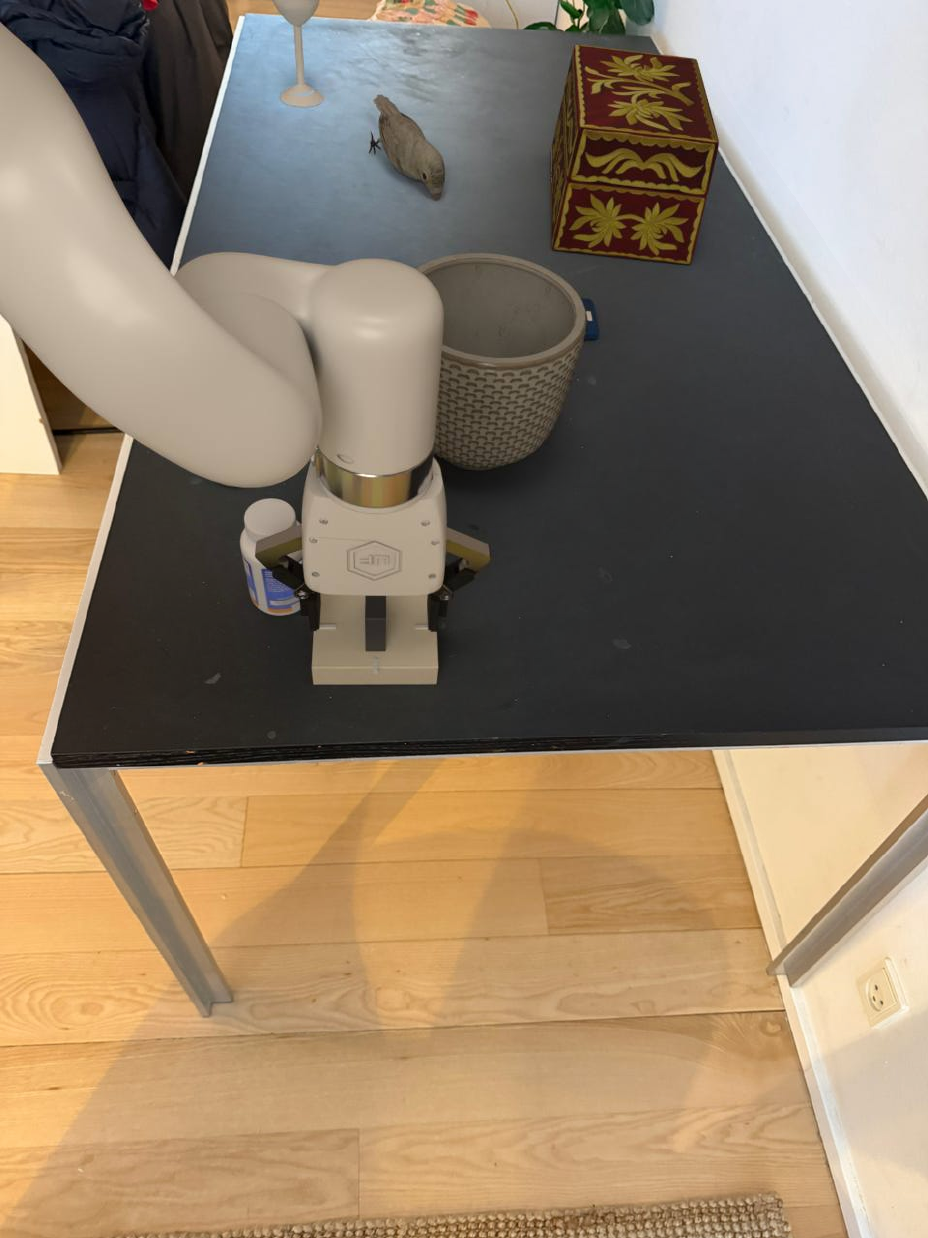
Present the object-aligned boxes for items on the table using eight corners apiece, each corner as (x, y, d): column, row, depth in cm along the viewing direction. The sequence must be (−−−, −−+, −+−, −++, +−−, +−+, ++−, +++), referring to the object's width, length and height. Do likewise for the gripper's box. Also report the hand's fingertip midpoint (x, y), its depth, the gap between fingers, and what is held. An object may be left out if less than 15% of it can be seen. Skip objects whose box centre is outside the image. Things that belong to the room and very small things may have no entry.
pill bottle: (324, 583, 76) (318, 505, 68) (292, 627, 73) (282, 550, 65) (271, 561, 77) (260, 482, 70) (237, 603, 74) (221, 525, 66)
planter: (357, 424, 89) (355, 283, 76) (488, 370, 96) (505, 233, 84) (458, 527, 82) (474, 390, 69) (592, 460, 89) (628, 324, 76)
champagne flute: (332, 99, 134) (326, -96, 115) (300, 110, 131) (287, -88, 112) (303, 83, 136) (291, -110, 117) (270, 95, 133) (253, -102, 114)
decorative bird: (421, 205, 117) (423, 148, 111) (362, 153, 124) (361, 97, 119) (454, 197, 119) (459, 140, 113) (395, 146, 127) (396, 91, 121)
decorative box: (691, 266, 113) (729, 147, 101) (550, 250, 112) (571, 129, 101) (672, 166, 130) (702, 54, 118) (549, 152, 129) (567, 38, 117)
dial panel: (312, 691, 69) (310, 673, 67) (318, 601, 75) (316, 581, 73) (436, 691, 70) (438, 673, 68) (433, 602, 76) (434, 582, 74)
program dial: (385, 651, 69) (386, 617, 66) (365, 651, 69) (364, 616, 65) (385, 602, 72) (386, 566, 69) (366, 602, 72) (365, 566, 68)
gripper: (232, 495, 53) (260, 655, 67) (512, 501, 55) (484, 656, 68) (244, 414, 57) (268, 580, 71) (503, 422, 59) (477, 582, 73)
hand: (374, 617), depth 70 cm, fingers open, 9 cm apart
